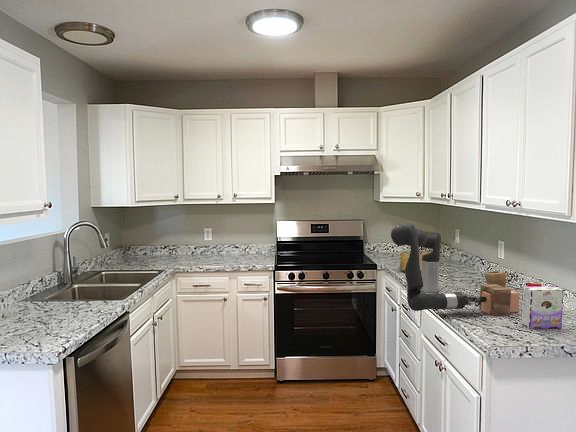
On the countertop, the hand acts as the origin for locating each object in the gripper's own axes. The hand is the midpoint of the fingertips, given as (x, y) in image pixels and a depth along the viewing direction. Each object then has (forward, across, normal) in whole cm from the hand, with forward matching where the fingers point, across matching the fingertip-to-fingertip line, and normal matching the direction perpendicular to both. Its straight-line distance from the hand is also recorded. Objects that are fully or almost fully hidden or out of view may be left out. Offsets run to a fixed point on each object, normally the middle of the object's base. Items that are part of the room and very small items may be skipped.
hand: (485, 299), depth 182 cm
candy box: (+11, -20, +7) cm, 24 cm away
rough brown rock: (+16, +91, +7) cm, 93 cm away
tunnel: (+5, 0, +6) cm, 8 cm away
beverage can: (+31, +5, +7) cm, 32 cm away
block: (+8, 0, +6) cm, 10 cm away
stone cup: (+22, +18, +7) cm, 29 cm away
